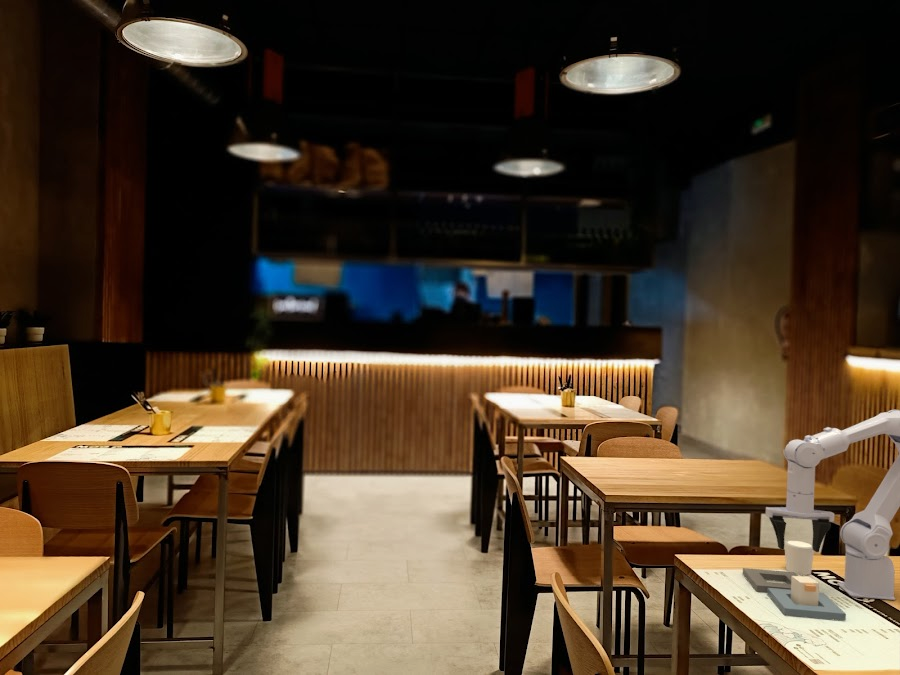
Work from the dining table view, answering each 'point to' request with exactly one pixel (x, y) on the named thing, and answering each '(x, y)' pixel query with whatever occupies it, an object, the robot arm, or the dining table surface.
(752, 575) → the socket
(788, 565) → the cream tapered cup
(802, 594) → the plug
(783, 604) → the socket
